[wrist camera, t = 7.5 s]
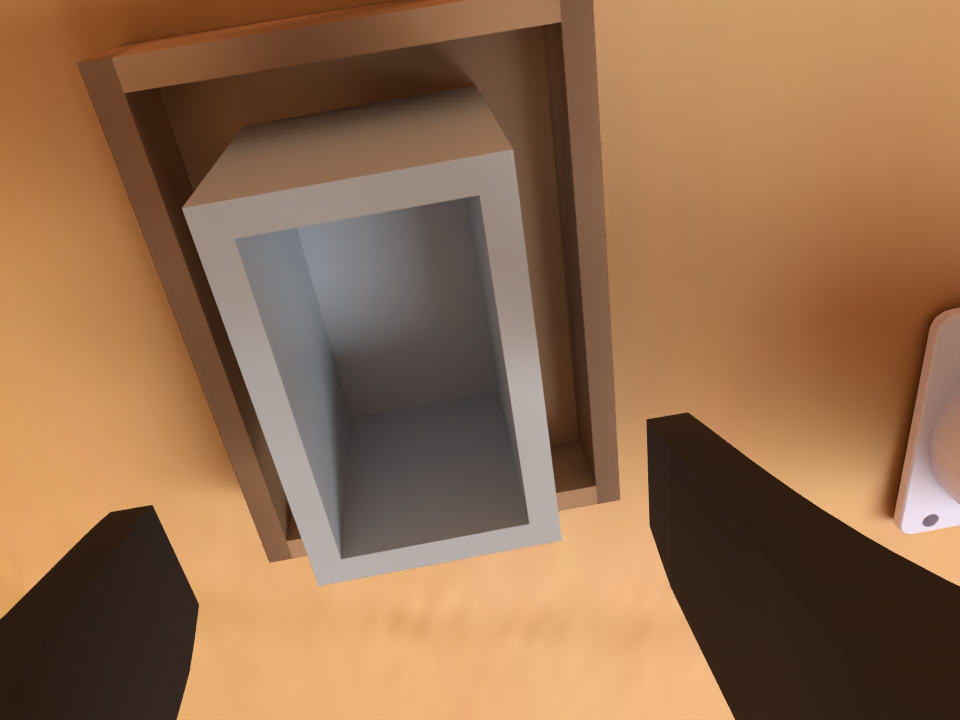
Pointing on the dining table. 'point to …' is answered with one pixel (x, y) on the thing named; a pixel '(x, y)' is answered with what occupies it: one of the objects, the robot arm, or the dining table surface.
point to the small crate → (385, 329)
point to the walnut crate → (359, 81)
